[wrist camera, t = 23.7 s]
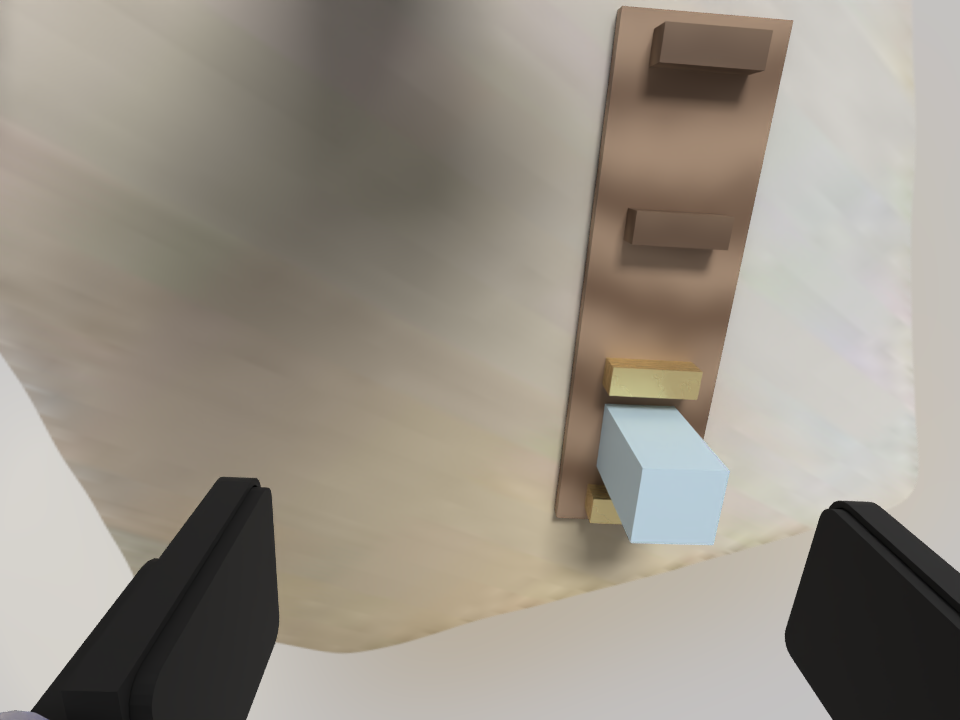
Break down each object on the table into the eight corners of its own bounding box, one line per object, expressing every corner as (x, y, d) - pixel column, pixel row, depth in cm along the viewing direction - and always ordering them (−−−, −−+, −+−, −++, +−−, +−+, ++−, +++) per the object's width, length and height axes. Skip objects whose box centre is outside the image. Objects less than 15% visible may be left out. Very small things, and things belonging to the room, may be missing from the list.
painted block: (604, 403, 41) (642, 468, 33) (674, 406, 41) (730, 470, 33) (596, 466, 43) (630, 543, 34) (663, 468, 43) (713, 545, 34)
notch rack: (617, 10, 34) (632, -4, 31) (784, 24, 34) (813, 12, 31) (554, 510, 45) (561, 533, 42) (680, 514, 46) (695, 538, 43)
